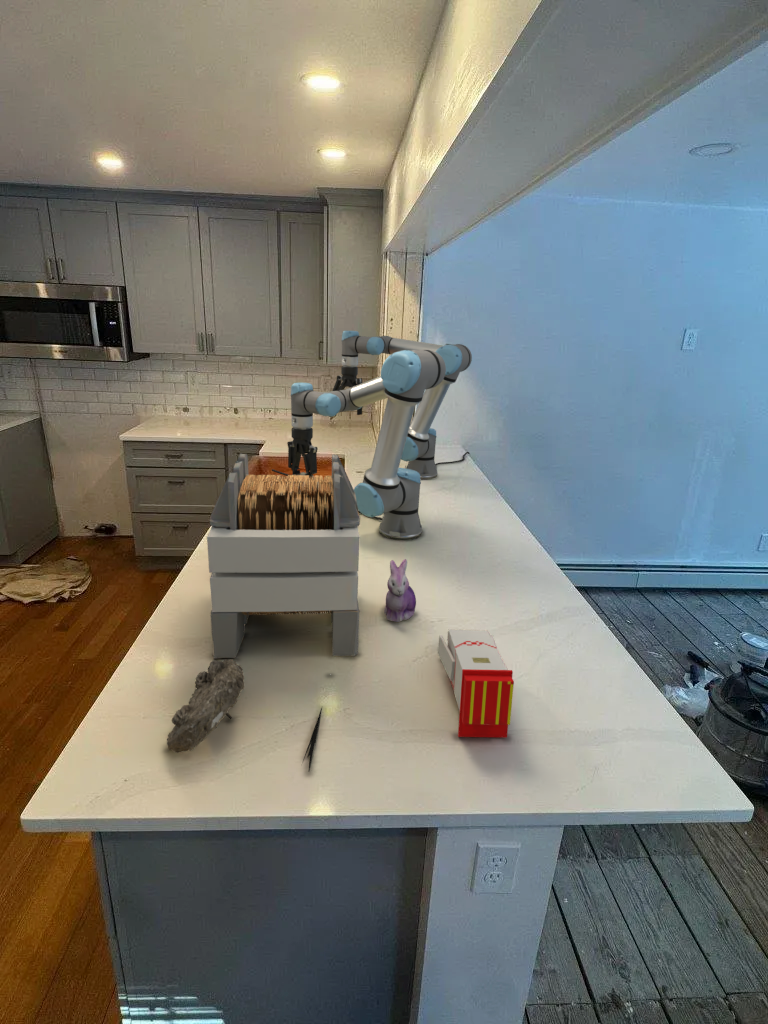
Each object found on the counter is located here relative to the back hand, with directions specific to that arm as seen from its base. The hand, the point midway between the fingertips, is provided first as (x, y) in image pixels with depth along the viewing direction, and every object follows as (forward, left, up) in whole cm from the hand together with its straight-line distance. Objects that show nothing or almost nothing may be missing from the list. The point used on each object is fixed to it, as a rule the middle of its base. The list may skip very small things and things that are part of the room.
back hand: (348, 412), depth 266 cm
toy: (+109, +132, -28) cm, 173 cm away
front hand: (+60, +31, -17) cm, 70 cm away
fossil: (+149, +98, -28) cm, 180 cm away
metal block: (+60, +31, -19) cm, 70 cm away
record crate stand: (+114, +83, -28) cm, 144 cm away
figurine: (+93, +102, -28) cm, 141 cm away
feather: (+136, +114, -28) cm, 179 cm away
